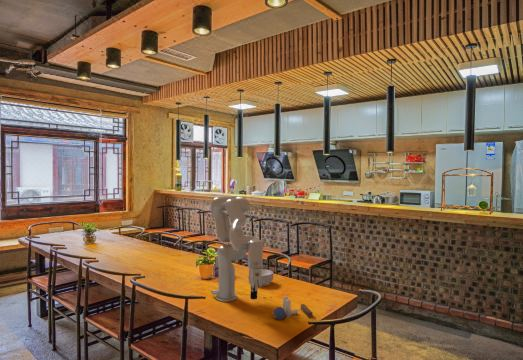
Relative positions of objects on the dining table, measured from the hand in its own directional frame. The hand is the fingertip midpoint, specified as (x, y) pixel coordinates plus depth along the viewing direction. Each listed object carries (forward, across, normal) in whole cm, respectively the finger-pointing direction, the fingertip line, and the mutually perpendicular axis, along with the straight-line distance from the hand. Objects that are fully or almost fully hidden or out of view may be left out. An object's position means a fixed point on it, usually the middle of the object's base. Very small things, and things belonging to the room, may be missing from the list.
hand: (253, 298), depth 180 cm
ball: (+6, -5, -12) cm, 15 cm away
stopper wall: (+9, -1, -29) cm, 30 cm away
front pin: (+8, -1, -15) cm, 17 cm away
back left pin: (+9, +1, -18) cm, 20 cm away
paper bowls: (+12, +50, -17) cm, 54 cm away
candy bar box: (+13, +76, +8) cm, 78 cm away
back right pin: (+9, -4, -18) cm, 20 cm away
